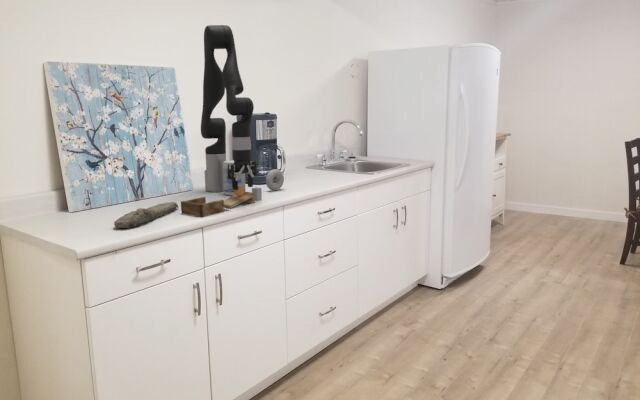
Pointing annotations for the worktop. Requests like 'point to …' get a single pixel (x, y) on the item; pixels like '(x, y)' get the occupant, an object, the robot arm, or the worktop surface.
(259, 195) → the hollow grey box
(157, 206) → the long grey stone
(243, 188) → the supplement tub
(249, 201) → the ramp
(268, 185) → the donut
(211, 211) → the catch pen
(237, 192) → the ball
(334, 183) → the worktop surface
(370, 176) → the worktop surface
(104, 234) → the worktop surface
